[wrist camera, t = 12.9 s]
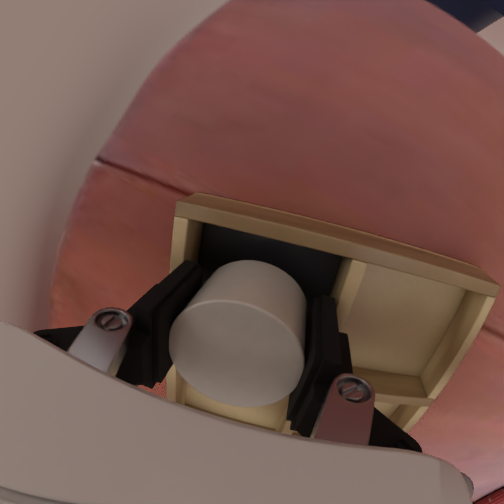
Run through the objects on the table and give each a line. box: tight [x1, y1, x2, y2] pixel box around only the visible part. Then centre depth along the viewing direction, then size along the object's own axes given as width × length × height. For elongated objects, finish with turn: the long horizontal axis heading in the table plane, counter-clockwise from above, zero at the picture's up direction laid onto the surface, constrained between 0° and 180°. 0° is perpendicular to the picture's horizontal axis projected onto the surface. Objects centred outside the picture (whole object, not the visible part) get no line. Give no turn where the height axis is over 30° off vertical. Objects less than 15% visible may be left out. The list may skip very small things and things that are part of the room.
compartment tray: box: [166, 192, 501, 436], centre depth 14 cm, size 20×14×2 cm
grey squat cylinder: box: [169, 260, 308, 407], centre depth 10 cm, size 4×4×3 cm
